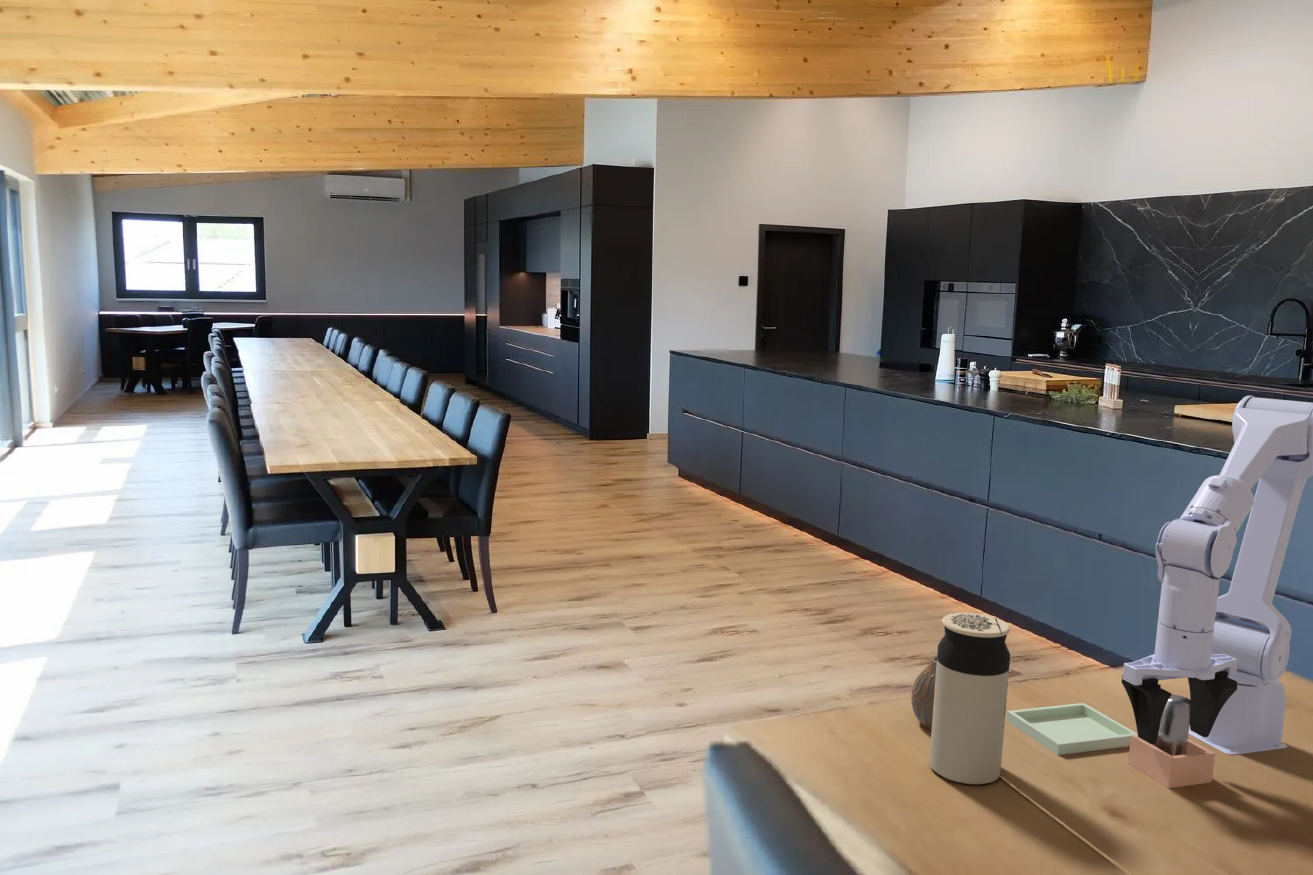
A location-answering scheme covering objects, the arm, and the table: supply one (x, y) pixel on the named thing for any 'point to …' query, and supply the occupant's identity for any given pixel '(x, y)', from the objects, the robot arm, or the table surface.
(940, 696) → the travel mug
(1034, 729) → the tray
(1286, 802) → the table surface
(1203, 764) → the salmon open box
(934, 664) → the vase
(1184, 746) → the dowel
